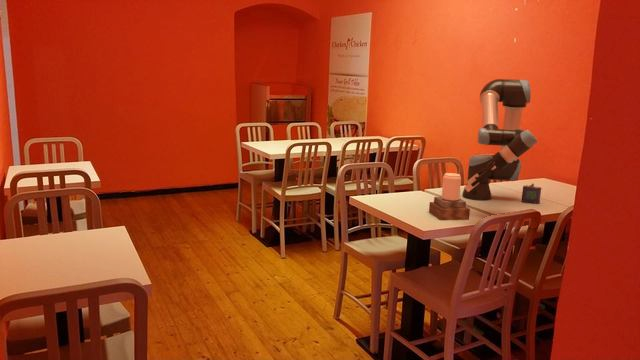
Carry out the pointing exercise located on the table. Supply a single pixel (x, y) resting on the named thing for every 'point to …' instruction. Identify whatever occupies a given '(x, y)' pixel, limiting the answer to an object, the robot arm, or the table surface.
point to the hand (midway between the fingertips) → (467, 186)
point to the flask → (531, 194)
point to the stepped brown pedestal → (449, 209)
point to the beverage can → (451, 186)
